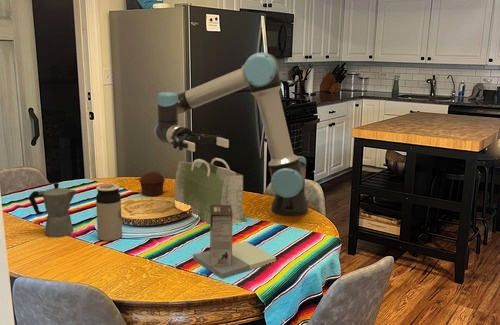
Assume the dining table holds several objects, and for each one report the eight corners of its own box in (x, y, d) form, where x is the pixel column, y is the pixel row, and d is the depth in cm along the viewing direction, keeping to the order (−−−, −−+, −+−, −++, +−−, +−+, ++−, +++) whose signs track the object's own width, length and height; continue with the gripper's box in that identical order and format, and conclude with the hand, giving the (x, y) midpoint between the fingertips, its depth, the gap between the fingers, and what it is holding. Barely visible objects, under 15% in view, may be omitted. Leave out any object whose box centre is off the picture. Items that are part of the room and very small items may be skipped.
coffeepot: (79, 226, 175) (76, 178, 171) (79, 235, 166) (76, 185, 162) (32, 230, 169) (29, 181, 166) (30, 240, 161) (26, 188, 157)
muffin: (145, 189, 224) (144, 169, 222) (168, 191, 222) (167, 170, 220) (135, 197, 212) (135, 175, 210) (160, 198, 211) (159, 176, 209)
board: (244, 245, 161) (244, 241, 160) (275, 261, 148) (275, 257, 148) (193, 259, 149) (193, 254, 148) (222, 278, 136) (222, 273, 136)
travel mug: (93, 240, 162) (91, 189, 158) (104, 232, 170) (102, 183, 166) (116, 242, 161) (113, 190, 157) (125, 234, 168) (124, 184, 165)
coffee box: (209, 254, 149) (210, 204, 146) (230, 253, 150) (231, 204, 146) (210, 266, 140) (210, 214, 137) (232, 266, 141) (233, 213, 138)
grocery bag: (249, 222, 184) (250, 163, 179) (221, 230, 175) (221, 168, 170) (199, 202, 207) (199, 149, 202) (172, 208, 198) (171, 153, 193)
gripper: (208, 143, 187) (240, 152, 171) (149, 149, 173) (178, 160, 156) (208, 124, 186) (241, 131, 169) (149, 129, 171) (178, 137, 155)
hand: (211, 145), depth 163 cm, fingers open, 13 cm apart
